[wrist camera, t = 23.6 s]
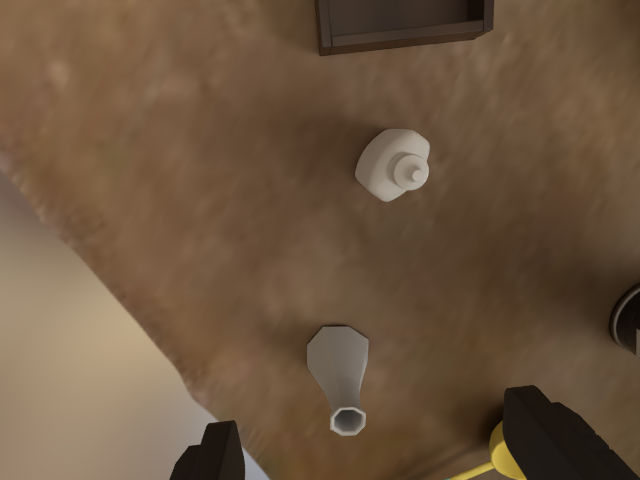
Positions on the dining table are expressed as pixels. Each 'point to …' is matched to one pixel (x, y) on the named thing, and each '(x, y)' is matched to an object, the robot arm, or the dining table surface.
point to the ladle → (495, 459)
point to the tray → (398, 23)
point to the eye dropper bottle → (393, 163)
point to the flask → (340, 374)
